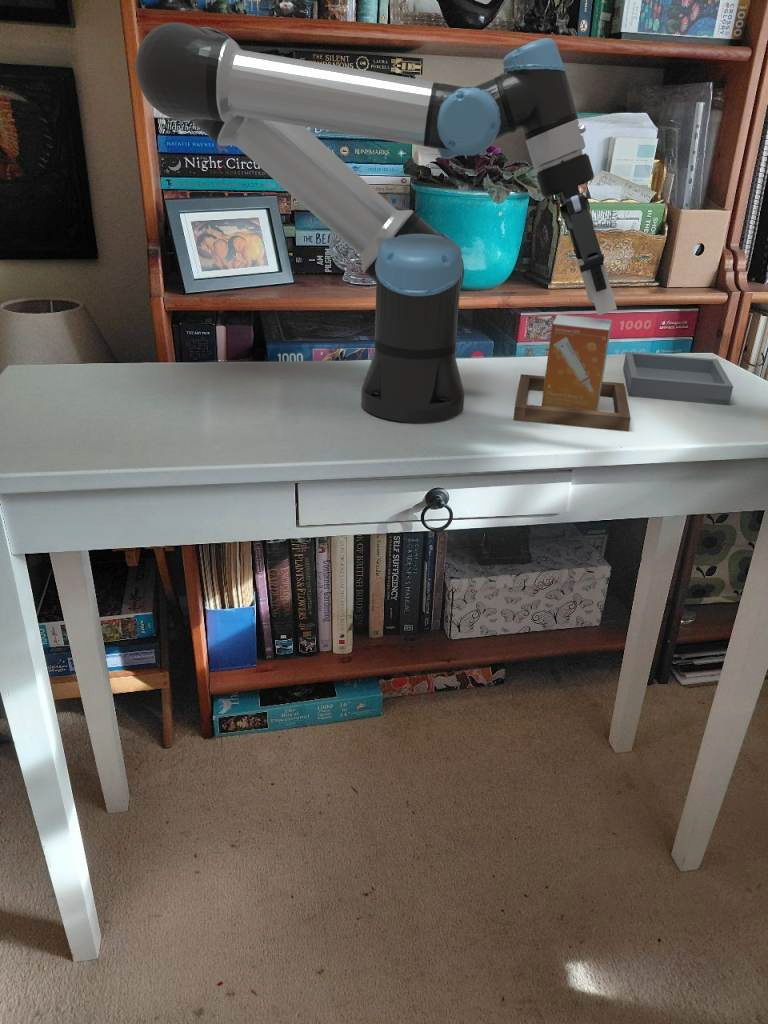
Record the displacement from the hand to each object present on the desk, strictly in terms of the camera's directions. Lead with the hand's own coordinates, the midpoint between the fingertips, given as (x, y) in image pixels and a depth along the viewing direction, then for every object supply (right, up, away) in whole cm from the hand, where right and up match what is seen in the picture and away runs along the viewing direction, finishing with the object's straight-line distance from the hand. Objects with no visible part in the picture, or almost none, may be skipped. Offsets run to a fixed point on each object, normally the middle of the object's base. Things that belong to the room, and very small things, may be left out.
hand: (602, 305), depth 123 cm
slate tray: (+15, -10, +11) cm, 21 cm away
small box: (-5, -15, +1) cm, 16 cm away
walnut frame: (-5, -15, 0) cm, 16 cm away
